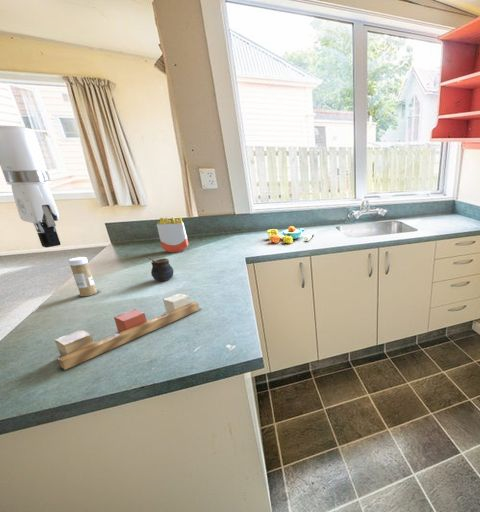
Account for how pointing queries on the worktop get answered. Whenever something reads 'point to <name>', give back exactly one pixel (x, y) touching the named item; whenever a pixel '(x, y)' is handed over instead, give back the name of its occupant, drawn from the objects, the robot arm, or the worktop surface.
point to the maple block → (73, 342)
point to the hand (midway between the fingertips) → (51, 245)
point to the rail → (125, 336)
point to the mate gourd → (161, 269)
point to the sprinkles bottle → (82, 276)
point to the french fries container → (172, 235)
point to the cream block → (176, 302)
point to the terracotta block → (129, 320)
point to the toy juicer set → (287, 235)
